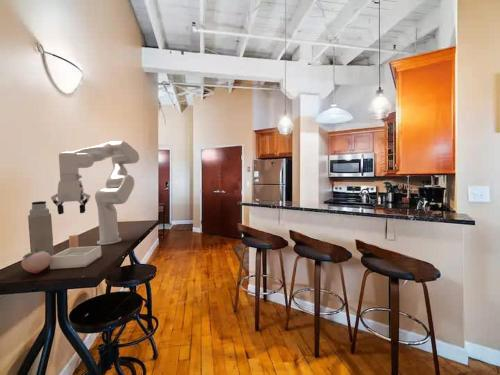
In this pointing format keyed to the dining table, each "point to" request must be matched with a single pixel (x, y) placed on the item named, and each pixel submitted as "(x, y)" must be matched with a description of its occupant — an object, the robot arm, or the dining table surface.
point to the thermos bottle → (40, 228)
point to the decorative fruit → (36, 261)
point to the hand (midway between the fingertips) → (71, 213)
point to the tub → (75, 257)
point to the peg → (73, 241)
